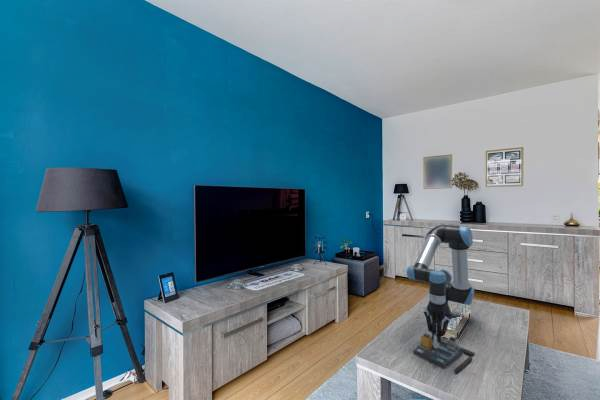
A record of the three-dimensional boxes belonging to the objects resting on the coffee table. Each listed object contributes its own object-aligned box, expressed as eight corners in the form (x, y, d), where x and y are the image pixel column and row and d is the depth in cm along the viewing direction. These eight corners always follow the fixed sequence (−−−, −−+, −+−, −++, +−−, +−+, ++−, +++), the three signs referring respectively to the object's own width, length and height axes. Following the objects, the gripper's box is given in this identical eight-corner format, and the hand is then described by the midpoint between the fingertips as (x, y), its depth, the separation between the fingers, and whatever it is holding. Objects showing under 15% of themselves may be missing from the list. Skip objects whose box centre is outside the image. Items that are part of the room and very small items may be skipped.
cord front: (434, 338, 160) (434, 335, 160) (474, 354, 144) (474, 351, 143) (431, 339, 158) (431, 337, 158) (472, 357, 141) (472, 354, 141)
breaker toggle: (424, 344, 150) (425, 332, 149) (432, 347, 146) (432, 335, 146) (420, 346, 147) (421, 334, 147) (428, 350, 144) (428, 337, 144)
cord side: (468, 359, 140) (468, 356, 140) (472, 360, 139) (472, 357, 138) (453, 372, 130) (453, 369, 130) (457, 374, 128) (457, 370, 128)
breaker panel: (431, 341, 156) (432, 326, 156) (462, 354, 144) (462, 338, 143) (413, 353, 145) (413, 337, 145) (444, 369, 132) (445, 351, 132)
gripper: (421, 299, 145) (420, 343, 145) (446, 307, 134) (445, 355, 135) (428, 296, 149) (427, 339, 150) (453, 304, 139) (452, 350, 140)
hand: (436, 347), depth 143 cm, fingers closed
